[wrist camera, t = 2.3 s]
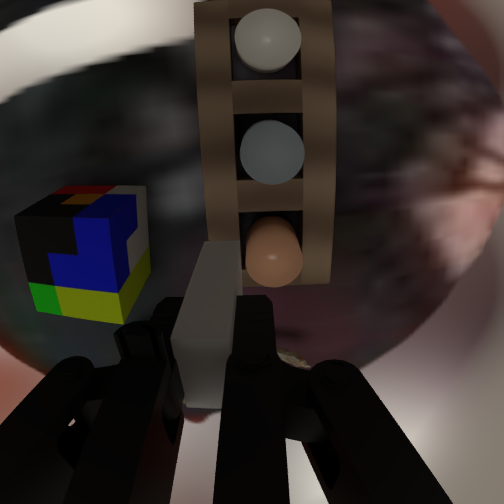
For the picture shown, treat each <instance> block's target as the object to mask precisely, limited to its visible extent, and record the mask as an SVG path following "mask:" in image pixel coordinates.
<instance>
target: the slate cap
mask: <svg viewBox="0 0 504 504" xmlns="http://www.w3.org/2000/svg"><path fill="white" fill-rule="evenodd" d="M304 157H305V150H304V145H303V142H302V140H301V138H300V136H299V135H298V134H297V132H296V131H295V130H293V129H292V128H291V127H289V126H287V125H285V124H283V123H281V122H279V121H276V120H269V119H268V120H261V121H258V122H256V123H254V124H253V125H252V126H250V127H249V128H248V130H247V131H246V132H245V134H244V136H243V140H242V143H241V148H240V159H241V163H242V165H243V167H244V169H245V171H246V172H247V173H248V174H249V175H250V176H251V177H252V178H253V179H255V180H256V181H258V182H261V183H264V184H269V185H275V184H281V183H284V182H286V181H288V180H290V179H292V178H293V177H294V176H295V175H296V174H297V173H298V172H299V170H300V169H301V167H302V165H303V162H304Z"/></svg>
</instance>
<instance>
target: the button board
mask: <svg viewBox="0 0 504 504" xmlns="http://www.w3.org/2000/svg"><path fill="white" fill-rule="evenodd" d="M259 9H276V10H279V11H282V12H284V13H286V14H287V15H289V16H290V17H291V18H292V19H293V20H294V21H295V22H296V23H297V25H298V27H299V29H300V32H301V45H300V48H299V50H298V52H297V53H296V66H297V80H243V81H233V65H232V42H231V26H237V25H238V23H239V22H240V20H241V19H242V18H243V17H244V16H246V15H247V14H249V13H250V12H253V11H255V10H259ZM194 34H195V60H196V82H197V100H198V117H199V132H200V147H201V160H202V173H203V185H204V197H205V208H206V219H207V229H208V239H209V241H237V240H240V256H241V276H242V287H259V286H263V285H261V284H259V283H257V282H256V281H254V280H253V279H252V278H251V277H250V275H249V274H248V271H247V269H246V256H245V257H242V241H241V223H240V212H261V211H292V210H299V228H298V243H299V246H300V249H301V252H302V255H303V266H302V269H301V272H300V273H299V275H298V276H297V277H296V278H295V279H294V280H293V281H292V282H290V283H289V284H287V285H306V284H325V283H330V271H331V258H332V244H333V228H334V209H335V183H336V74H335V50H334V33H333V18H332V5H331V1H329V0H214V1H204V2H195V3H194ZM251 113H298V135H299V136H300V138H301V140H302V142H303V145H304V150H305V157H304V162H303V165H302V167H301V169H300V170H299V172H298V173H297V174H296V175H295V176H294V177H293V178H292V179H290V180H288V181H286V182H284V183H281V184H275V185H269V184H264V183H261V182H258V181H256V180H255V179H253V178H252V177H251V176H250V175H249V174H238V168H237V149H236V129H235V114H251Z"/></svg>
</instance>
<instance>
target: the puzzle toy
mask: <svg viewBox="0 0 504 504" xmlns="http://www.w3.org/2000/svg"><path fill="white" fill-rule="evenodd" d="M14 219H15V225H16V230H17V235H18V240H19V245H20V249H21V254H22V258H23V262H24V267H25V271H26V274H27V278H28V282H29V286H30V289H31V293H32V296H33V299H34V303H35V306H36V309H37V311H40V312H46V313H51V314H57V315H63V316H69V317H75V318H82V319H88V320H95V321H102V322H110V323H117V324H124V323H125V321H126V319H127V317H128V315H129V313H130V311H131V309H132V307H133V305H134V303H135V301H136V299H137V297H138V295H139V293H140V291H141V290H142V288H143V286H144V284H145V282H146V280H147V278H148V276H149V274H150V273H151V264H150V251H149V236H148V218H147V194H146V186H114V185H103V186H65V187H63V188H61V189H59V190H57V191H56V192H54V193H52V194H50V195H49V196H47V197H45V198H43V199H42V200H40V201H38V202H36V203H35V204H33V205H31V206H30V207H28V208H26V209H25V210H23V211H22V212H20V213H18V214H17V215H15V216H14Z"/></svg>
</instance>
